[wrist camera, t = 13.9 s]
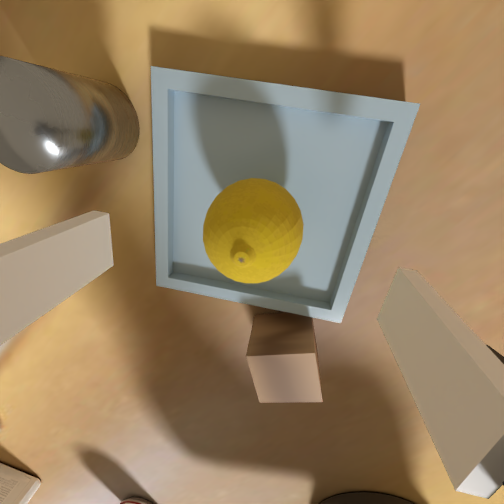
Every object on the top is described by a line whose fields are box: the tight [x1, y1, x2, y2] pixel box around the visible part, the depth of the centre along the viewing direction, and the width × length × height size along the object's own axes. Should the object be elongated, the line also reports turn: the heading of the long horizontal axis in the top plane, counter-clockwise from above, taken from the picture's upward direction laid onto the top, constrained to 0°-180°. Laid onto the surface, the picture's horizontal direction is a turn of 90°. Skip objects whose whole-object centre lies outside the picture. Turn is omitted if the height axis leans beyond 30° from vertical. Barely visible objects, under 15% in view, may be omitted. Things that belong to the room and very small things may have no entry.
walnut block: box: [246, 312, 323, 403], centre depth 22 cm, size 5×5×5 cm
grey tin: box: [0, 56, 139, 174], centre depth 16 cm, size 5×5×7 cm
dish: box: [151, 66, 420, 323], centre depth 19 cm, size 15×15×2 cm
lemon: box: [203, 178, 304, 283], centre depth 15 cm, size 6×6×8 cm
